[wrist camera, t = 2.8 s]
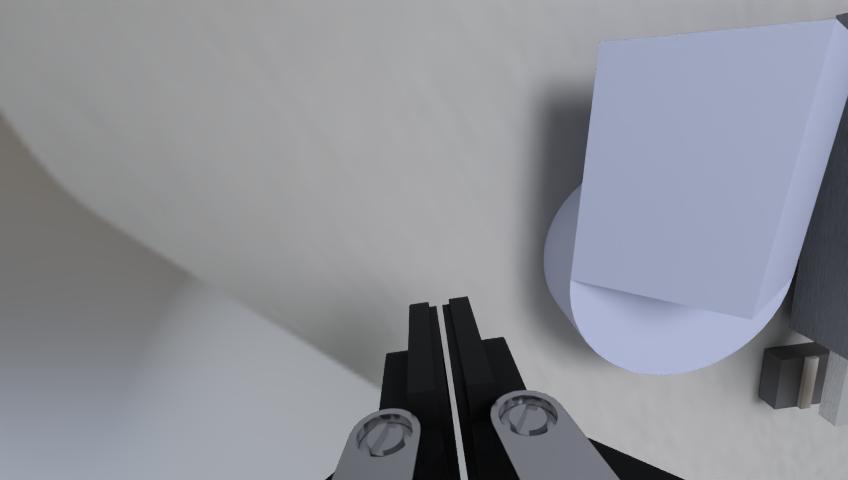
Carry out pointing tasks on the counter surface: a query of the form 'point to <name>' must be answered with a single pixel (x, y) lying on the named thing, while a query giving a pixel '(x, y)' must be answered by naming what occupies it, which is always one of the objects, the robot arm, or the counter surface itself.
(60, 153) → the counter surface
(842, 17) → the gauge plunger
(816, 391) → the frame
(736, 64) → the wedge on round base
